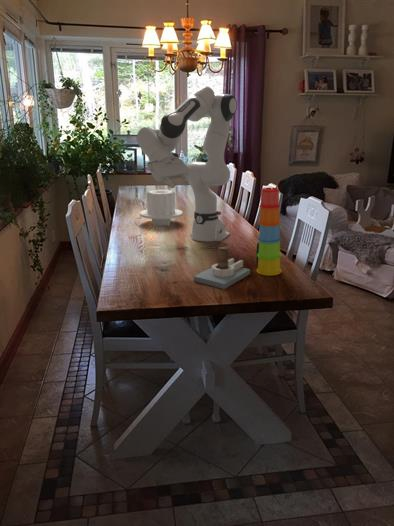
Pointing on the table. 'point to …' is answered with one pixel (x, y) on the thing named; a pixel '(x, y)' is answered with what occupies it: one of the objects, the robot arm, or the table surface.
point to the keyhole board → (221, 280)
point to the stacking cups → (269, 233)
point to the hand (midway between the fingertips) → (180, 185)
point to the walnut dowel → (223, 257)
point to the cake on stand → (161, 207)
